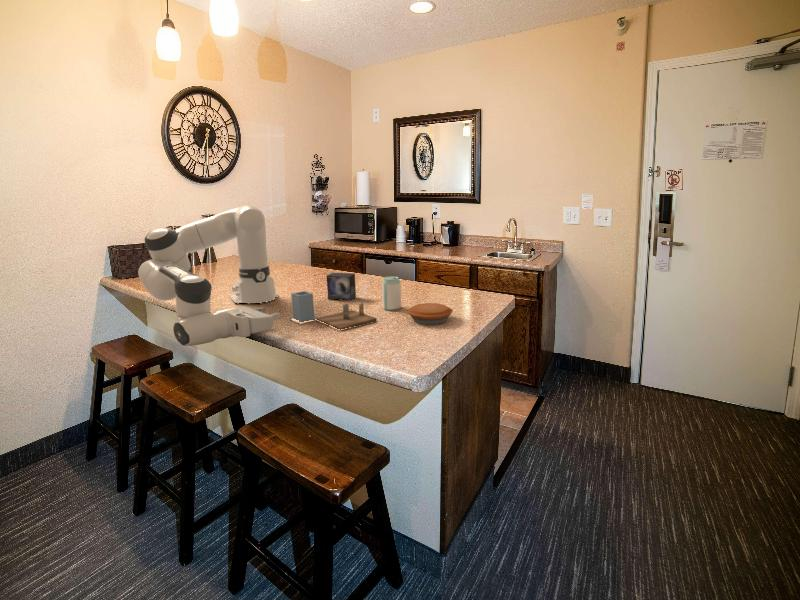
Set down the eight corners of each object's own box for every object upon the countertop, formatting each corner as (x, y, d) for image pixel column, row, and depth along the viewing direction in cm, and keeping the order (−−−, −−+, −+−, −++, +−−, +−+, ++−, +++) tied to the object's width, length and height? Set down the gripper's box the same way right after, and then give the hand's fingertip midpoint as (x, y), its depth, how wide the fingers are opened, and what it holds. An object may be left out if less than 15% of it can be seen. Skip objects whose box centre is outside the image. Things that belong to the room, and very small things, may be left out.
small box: (327, 300, 188) (325, 275, 185) (333, 296, 194) (332, 272, 191) (350, 301, 185) (349, 276, 182) (356, 297, 191) (355, 273, 188)
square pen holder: (289, 320, 160) (287, 293, 158) (308, 316, 165) (306, 290, 162) (299, 324, 155) (297, 297, 152) (318, 320, 159) (316, 293, 157)
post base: (316, 321, 158) (315, 304, 156) (352, 313, 167) (351, 296, 166) (340, 331, 147) (338, 312, 145) (376, 321, 156) (376, 304, 155)
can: (390, 305, 177) (389, 275, 174) (404, 307, 173) (404, 277, 170) (378, 309, 172) (377, 278, 169) (392, 312, 167) (392, 280, 164)
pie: (449, 313, 164) (449, 300, 163) (455, 326, 149) (455, 311, 148) (406, 314, 164) (406, 301, 163) (409, 328, 149) (408, 313, 148)
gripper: (218, 325, 149) (257, 315, 158) (248, 338, 134) (288, 327, 144) (216, 306, 147) (255, 298, 156) (245, 318, 133) (287, 308, 142)
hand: (271, 312), depth 150 cm, fingers open, 8 cm apart
